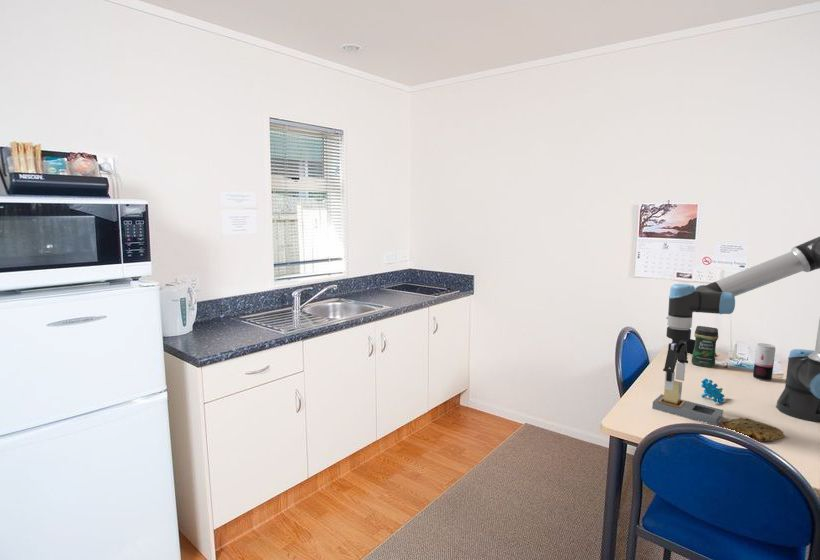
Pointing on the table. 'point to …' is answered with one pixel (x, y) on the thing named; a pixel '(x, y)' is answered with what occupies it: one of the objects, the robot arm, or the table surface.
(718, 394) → the blue irregular branched piece
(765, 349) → the beverage can
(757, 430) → the pastry
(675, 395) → the brass peg
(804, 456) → the table surface
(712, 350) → the coffee jar
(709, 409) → the grey block
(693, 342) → the game console
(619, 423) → the table surface
